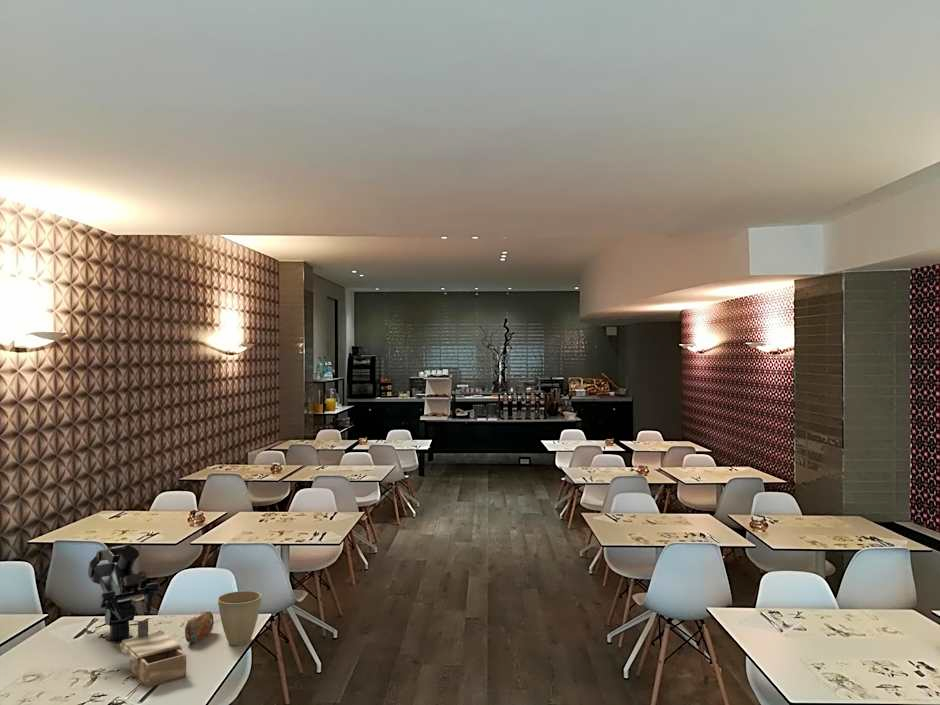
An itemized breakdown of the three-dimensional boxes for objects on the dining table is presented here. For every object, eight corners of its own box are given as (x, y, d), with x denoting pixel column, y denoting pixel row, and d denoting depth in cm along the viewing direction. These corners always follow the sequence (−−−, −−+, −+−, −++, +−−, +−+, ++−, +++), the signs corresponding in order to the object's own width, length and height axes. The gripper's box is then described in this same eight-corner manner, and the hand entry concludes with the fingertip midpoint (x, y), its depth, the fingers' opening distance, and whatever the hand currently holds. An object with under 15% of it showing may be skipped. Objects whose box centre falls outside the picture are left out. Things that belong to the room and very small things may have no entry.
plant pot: (253, 650, 255) (253, 603, 255) (211, 649, 256) (211, 603, 256) (266, 634, 270) (266, 590, 270) (226, 634, 270) (226, 590, 271)
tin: (191, 646, 259) (191, 622, 259) (183, 646, 259) (183, 622, 259) (214, 631, 273) (214, 608, 274) (206, 630, 274) (206, 607, 274)
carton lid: (120, 649, 243) (120, 625, 243) (163, 638, 252) (163, 615, 252) (136, 665, 230) (136, 639, 230) (181, 653, 239) (181, 629, 239)
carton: (130, 671, 238) (130, 649, 238) (168, 661, 246) (168, 640, 246) (146, 688, 226) (146, 665, 226) (186, 677, 234) (186, 654, 234)
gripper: (101, 569, 251) (111, 610, 242) (158, 559, 263) (169, 597, 255) (95, 587, 257) (104, 627, 248) (150, 576, 269) (161, 615, 261)
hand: (135, 616), depth 253 cm, fingers open, 9 cm apart
